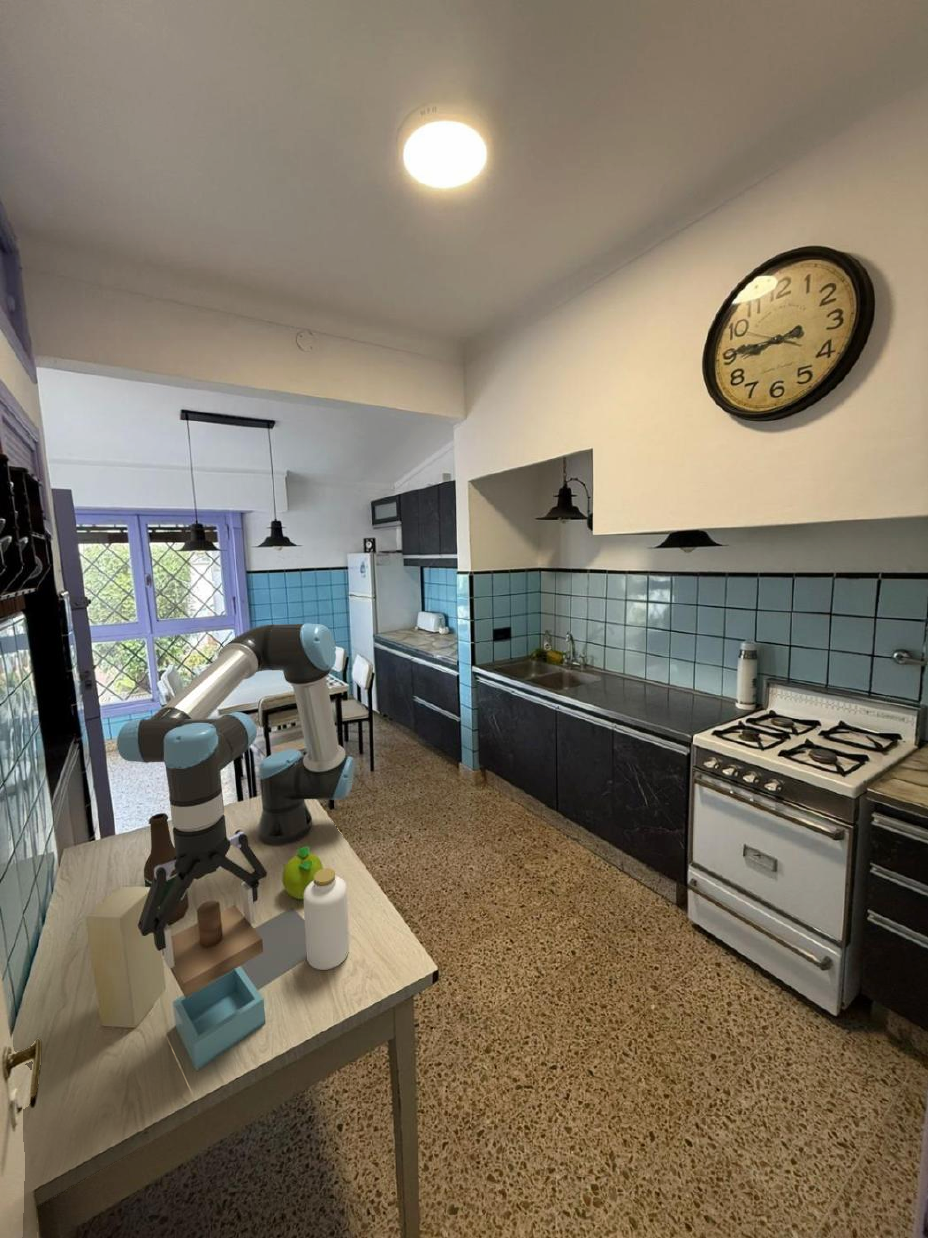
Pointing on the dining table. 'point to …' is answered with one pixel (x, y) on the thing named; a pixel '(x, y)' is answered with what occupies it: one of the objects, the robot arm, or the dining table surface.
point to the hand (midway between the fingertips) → (211, 940)
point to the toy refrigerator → (124, 959)
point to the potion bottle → (326, 920)
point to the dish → (218, 1016)
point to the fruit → (300, 872)
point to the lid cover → (212, 946)
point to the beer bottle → (163, 861)
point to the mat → (278, 948)
